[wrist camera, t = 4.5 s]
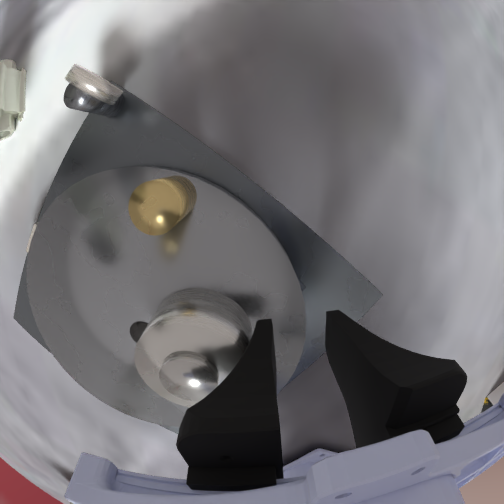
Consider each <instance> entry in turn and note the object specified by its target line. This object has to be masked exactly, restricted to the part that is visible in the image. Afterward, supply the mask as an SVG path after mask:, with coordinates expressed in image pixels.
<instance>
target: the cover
mask: <svg viewBox="0 0 504 504" xmlns="http://www.w3.org/2000/svg"><path fill="white" fill-rule="evenodd" d="M251 337H252V328H251V323H250V321H249V318H248V316H247V315H246V313H245V312H244V310H243V309H242V308H241V307H240V306H239V305H238V304H237V303H236V302H235V301H234V300H232V299H231V298H229V297H228V296H226V295H224V294H222V293H220V292H217V291H214V290H210V289H206V288H187V289H183V290H179V291H177V292H174V293H172V294H171V295H169V296H168V297H167V298H165V299H164V300H163V301H162V303H161V304H160V305H159V307H158V309H157V310H156V312H155V314H154V315H153V317H152V319H151V320H150V322H149V324H148V325H147V327H146V329H145V330H144V332H143V334H142V335H141V337H140V339H139V341H138V342H137V344H136V347H135V352H134V360H135V365H136V368H137V370H138V372H139V374H140V376H141V378H142V379H143V380H144V382H145V383H146V384H147V385H148V386H149V387H150V388H151V389H152V390H153V391H155V392H156V393H157V394H159V395H160V396H162V397H163V398H165V399H167V400H169V401H171V402H173V403H176V404H178V405H182V406H185V407H191V406H193V405H194V404H196V403H197V402H199V401H200V400H202V399H203V398H205V397H206V396H207V395H208V394H209V393H211V392H212V391H213V390H214V389H215V388H216V387H217V386H218V385H219V384H220V383H221V382H222V381H223V380H224V379H225V378H226V377H227V376H228V375H229V373H230V372H231V371H232V370H233V368H234V367H235V366H236V364H237V363H238V361H239V360H240V358H241V356H242V355H243V353H244V351H245V349H246V348H247V346H248V344H249V341H250V339H251Z"/></svg>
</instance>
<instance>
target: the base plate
mask: <svg viewBox="0 0 504 504" xmlns="http://www.w3.org/2000/svg"><path fill="white" fill-rule="evenodd" d="M110 83H112V84H114V85H115V86H117V87H118V88H120V89H121V90H122V91H123V92H122V96H123V98H124V104H123V107H122V109H121V111H120V112H119V113H118V114H117V115H115V116H113V117H106V116H102V115H98V114H93V113H89V114H88V116H87V117H86V119H85V121H84V122H83V124H82V126H81V127H80V129H79V131H78V133H77V134H76V136H75V138H74V140H73V142H72V144H71V145H70V147H69V149H68V151H67V153H66V155H65V157H64V159H63V161H62V163H61V165H60V167H59V169H58V172H57V174H56V176H55V178H54V180H53V183H52V185H51V187H50V190H49V192H48V195H47V197H46V200H45V202H44V205H43V207H42V210H41V213H40V215H39V218H38V221H37V222H39V221H40V219H41V218H42V216H43V214H44V213H45V211H46V210H47V209H48V207H49V206H50V205H51V204H52V203H53V201H54V200H55V199H56V198H57V197H58V196H59V195H60V194H62V193H63V192H64V191H65V190H66V189H68V188H69V187H70V186H72V185H74V184H75V183H77V182H79V181H80V180H82V179H84V178H86V177H89V176H91V175H94V174H97V173H100V172H102V171H106V170H112V169H117V168H123V167H134V166H157V167H163V168H170V169H176V170H180V171H183V172H187V173H190V174H193V175H196V176H199V177H202V178H204V179H206V180H208V181H210V182H212V183H214V184H216V185H218V186H220V187H222V188H224V189H225V190H227V191H228V192H230V193H231V194H233V195H234V196H236V197H237V198H239V199H240V200H241V201H243V202H244V203H245V204H246V205H247V206H248V207H250V208H251V209H252V210H253V211H254V212H255V213H256V214H257V215H258V216H260V217H261V219H262V220H263V221H264V222H265V223H266V225H267V226H268V227H269V228H270V229H271V231H272V232H273V233H274V234H275V235H276V237H277V239H278V240H279V242H280V243H281V245H282V247H283V248H284V250H285V251H286V253H287V255H288V257H289V259H290V262H291V264H292V266H293V269H294V271H295V273H296V276H297V278H298V281H299V283H300V287H301V291H302V295H303V298H304V302H305V311H306V336H305V343H304V347H303V351H302V355H301V358H300V360H299V362H298V365H297V367H296V369H295V371H294V373H293V375H292V376H291V378H290V379H289V381H288V382H287V384H288V383H290V382H291V381H292V380H293V379H294V378H296V377H297V376H298V375H299V374H300V373H302V372H303V371H304V370H305V369H306V368H308V367H309V366H310V365H311V364H312V363H313V362H315V361H316V360H317V359H318V358H319V357H320V356H321V355H322V354H324V353H325V352H326V348H325V332H326V311H333V310H340V311H341V312H343V313H344V314H345V315H347V316H348V317H350V318H351V319H352V320H354V321H355V322H357V321H358V320H359V319H360V318H361V317H362V316H363V315H364V314H365V313H366V312H367V311H368V310H369V309H370V308H371V307H372V306H373V305H374V304H375V303H376V302H377V301H378V300H379V299H380V297H381V296H382V295H383V294H382V293H381V292H380V291H379V290H378V289H377V288H376V287H375V286H373V285H372V284H371V283H370V282H369V281H368V280H367V279H366V278H365V277H364V276H363V275H362V274H361V273H360V272H358V271H357V270H356V269H355V268H354V267H353V266H352V265H351V264H350V263H349V262H348V261H346V260H345V259H344V258H343V257H342V256H341V255H340V254H339V253H338V252H336V251H335V250H334V249H333V248H332V247H331V246H330V245H329V244H327V243H326V242H325V241H324V240H323V239H322V238H321V237H319V236H318V235H317V234H316V233H315V232H314V231H312V230H311V229H310V228H309V227H308V226H307V225H305V224H304V223H303V222H302V221H301V220H300V219H298V218H297V217H296V216H295V215H294V214H292V213H291V212H290V211H289V210H288V209H286V208H285V207H284V206H283V205H282V204H280V203H279V202H278V201H277V200H276V199H274V198H273V197H272V196H271V195H269V194H268V193H267V192H266V191H264V190H263V189H262V188H261V187H259V186H258V185H257V184H256V183H254V182H253V181H252V180H251V179H249V178H248V177H247V176H246V175H244V174H243V173H242V172H240V171H239V170H238V169H237V168H235V167H234V166H233V165H231V164H230V163H229V162H227V161H226V160H225V159H224V158H222V157H221V156H220V155H218V154H217V153H216V152H214V151H213V150H212V149H210V148H209V147H208V146H206V145H205V144H203V143H202V142H201V141H199V140H198V139H197V138H195V137H194V136H192V135H191V134H190V133H188V132H187V131H186V130H184V129H183V128H181V127H180V126H179V125H177V124H176V123H174V122H173V121H171V120H170V119H169V118H167V117H166V116H164V115H163V114H161V113H160V112H158V111H157V110H156V109H154V108H153V107H151V106H150V105H148V104H147V103H145V102H144V101H142V100H141V99H139V98H138V97H136V96H135V95H133V94H132V93H130V92H128V91H127V90H125V89H124V88H122V87H121V86H119V85H118V84H116V83H114V82H113V81H110ZM27 258H28V253H27V256H26V260H25V264H24V268H23V272H22V276H21V281H20V286H19V290H18V296H17V301H16V307H15V313H14V319H15V320H16V321H17V322H18V323H19V324H20V325H21V326H22V327H23V328H24V329H25V330H26V331H27V332H28V333H29V334H30V335H31V336H32V337H34V338H35V339H36V340H37V341H38V342H39V343H40V344H41V345H42V346H43V347H45V348H46V349H47V350H48V351H49V352H50V353H52V352H51V351H50V349H49V348H48V346H47V345H46V343H45V341H44V339H43V337H42V335H41V333H40V331H39V329H38V327H37V324H36V322H35V319H34V316H33V313H32V309H31V306H30V302H29V296H28V290H27V275H26V269H27ZM287 384H286V385H287ZM286 385H285V386H286ZM285 386H284V387H285ZM158 425H160V426H162V427H164V428H166V429H168V430H170V431H172V432H175V433H177V434H178V433H179V428H180V427H174V426H166V425H161V424H158Z"/></svg>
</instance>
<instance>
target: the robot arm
mask: <svg viewBox="0 0 504 504" xmlns="http://www.w3.org/2000/svg"><path fill="white" fill-rule="evenodd" d="M325 348H326V352H327V356H328V359H329V363H330V365H331V368H332V370H333V373H334V375H335V377H336V380H337V382H338V385H339V387H340V389H341V392H342V394H343V397H344V399H345V402H346V405H347V409H348V413H349V416H350V420H351V425H352V429H353V433H354V438H355V443H356V448H357V449H353V450H349V451H344V452H341V453H336V452H332V451H328V450H325V449H316V450H314V451H312V452H310V453H308V454H306V455H305V456H303V457H301V458H299V459H297V460H295V461H293V462H291V463H289V464H288V465H286V466H283V461H282V448H281V434H280V423H279V414H278V406H277V369H276V357H275V345H274V333H273V324H272V319H263V320H258V321H257V322H256V325H255V329H254V332H253V335H252V337H251V339H250V341H249V344H248V346H247V348H246V349H245V351H244V353H243V355H242V356H241V358H240V360H239V361H238V363H237V364H236V366H235V367H234V368H233V370H232V371H231V372H230V373H229V375H228V376H227V377H226V378H225V379H224V380H223V381H222V382H221V383H220V384H219V385H218V386H217V387H216V388H215V389H214V390H213V391H212V392H211V393H209V394H208V395H207V396H206V397H205V398H203V399H202V400H200V401H199V402H197V403H196V404H194V405H193V406H191V407H190V408H188V409H187V410H186V412H185V415H184V417H183V420H182V422H181V425H180V428H179V433H178V438H177V443H176V446H177V449H178V451H179V452H180V454H181V455H182V457H183V458H184V460H185V461H186V463H187V464H188V466H189V468H188V474H187V480H184V479H174V478H166V477H158V476H152V475H145V474H140V473H134V472H129V471H125V470H120V469H117V467H116V466H115V465H114V464H113V463H112V462H111V461H109V460H107V459H105V458H102V457H99V456H95V455H91V454H88V453H84V452H83V453H81V456H80V458H79V460H78V463H77V465H76V468H75V470H74V473H73V475H72V477H71V480H70V483H69V485H68V488H67V490H66V493H65V498H66V499H67V500H69V501H70V502H72V503H73V504H465V502H464V500H463V498H462V495H461V493H460V491H459V488H460V487H462V486H463V485H465V484H467V483H468V482H469V481H471V480H472V479H474V478H475V477H477V476H478V475H479V474H481V473H482V472H483V471H485V470H486V469H488V468H489V467H490V466H492V465H493V464H494V463H496V462H497V461H498V460H499V459H501V458H502V457H503V456H504V393H503V394H502V396H501V398H500V399H499V402H498V403H496V404H495V405H493V406H492V407H490V408H489V409H487V410H485V411H484V412H482V413H481V414H479V415H477V416H475V417H474V418H472V419H470V420H468V421H467V422H465V423H463V422H462V421H461V419H460V418H459V416H458V415H457V413H459V408H458V406H457V405H456V403H457V401H458V400H459V398H460V396H461V394H462V392H463V390H464V388H465V385H466V382H467V375H466V373H465V372H464V371H463V369H462V368H461V367H460V366H459V364H458V363H457V362H456V361H455V360H449V359H441V358H435V357H430V356H426V355H421V354H418V353H415V352H412V351H409V350H406V349H403V348H401V347H398V346H396V345H394V344H391V343H389V342H387V341H385V340H383V339H381V338H380V337H378V336H376V335H375V334H373V333H371V332H370V331H368V330H367V329H365V328H364V327H362V326H361V325H359V324H358V323H356V322H355V321H354V320H352V319H351V318H350V317H348V316H347V315H345V314H344V313H343V312H341V311H340V310H333V311H326V332H325Z"/></svg>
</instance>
